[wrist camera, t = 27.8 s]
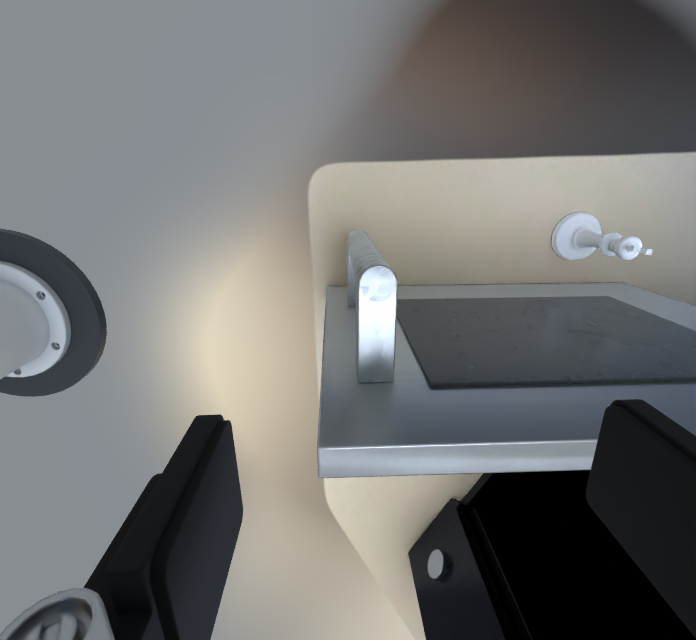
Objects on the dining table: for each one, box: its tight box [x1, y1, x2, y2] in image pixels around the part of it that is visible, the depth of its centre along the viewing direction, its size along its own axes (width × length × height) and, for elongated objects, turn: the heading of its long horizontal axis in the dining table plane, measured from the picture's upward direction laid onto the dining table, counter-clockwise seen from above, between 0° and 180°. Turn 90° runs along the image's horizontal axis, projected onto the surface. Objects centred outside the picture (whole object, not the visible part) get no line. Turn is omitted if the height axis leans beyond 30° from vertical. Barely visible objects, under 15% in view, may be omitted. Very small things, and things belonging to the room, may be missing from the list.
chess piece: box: [552, 212, 653, 260], centre depth 36 cm, size 5×5×10 cm
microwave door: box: [317, 230, 696, 478], centre depth 28 cm, size 8×33×27 cm, turn 90°
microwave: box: [408, 470, 696, 640], centre depth 39 cm, size 35×44×27 cm
